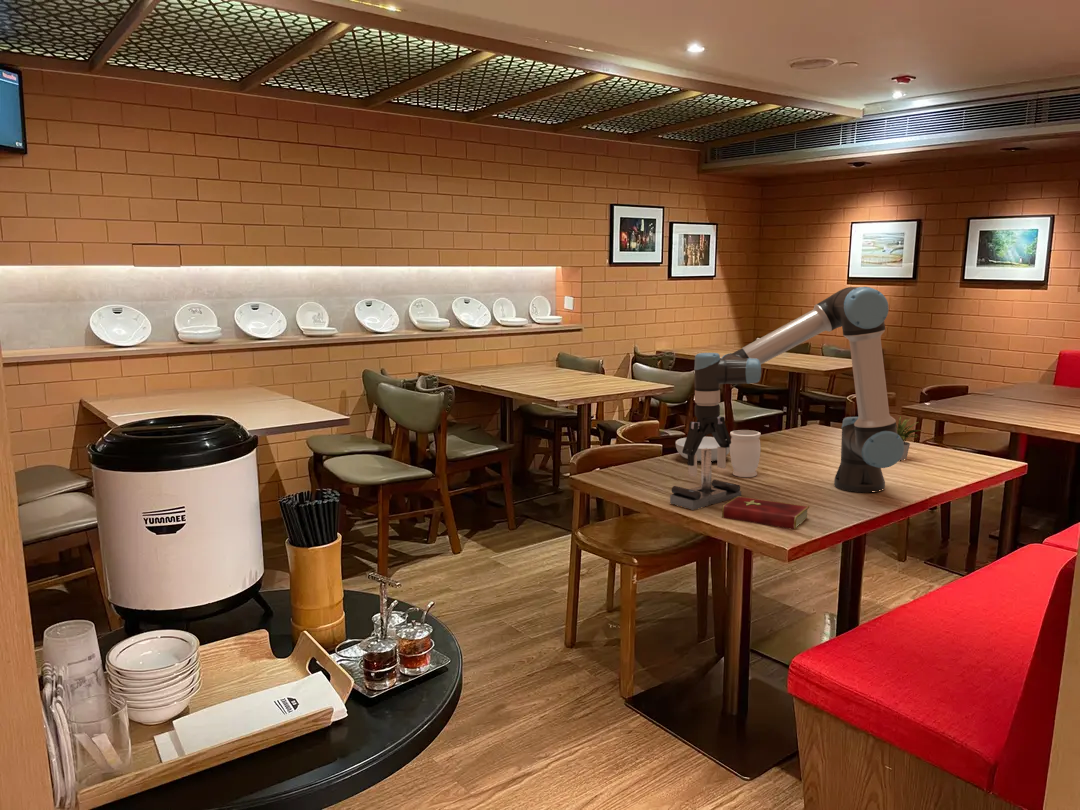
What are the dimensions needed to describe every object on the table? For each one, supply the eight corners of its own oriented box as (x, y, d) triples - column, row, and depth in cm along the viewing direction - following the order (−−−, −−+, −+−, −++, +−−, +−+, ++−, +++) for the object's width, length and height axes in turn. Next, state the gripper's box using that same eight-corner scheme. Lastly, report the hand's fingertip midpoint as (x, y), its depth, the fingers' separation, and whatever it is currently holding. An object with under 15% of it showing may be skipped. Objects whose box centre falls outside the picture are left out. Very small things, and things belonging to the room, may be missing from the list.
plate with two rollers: (741, 495, 240) (742, 479, 240) (693, 510, 226) (693, 493, 226) (717, 490, 248) (718, 473, 247) (669, 504, 234) (669, 486, 233)
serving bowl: (664, 459, 292) (664, 442, 291) (698, 451, 305) (698, 434, 304) (708, 468, 276) (708, 450, 275) (742, 459, 289) (742, 441, 288)
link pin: (713, 499, 237) (713, 449, 234) (707, 501, 235) (707, 451, 233) (705, 497, 239) (705, 448, 237) (699, 499, 237) (699, 449, 235)
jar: (761, 478, 260) (762, 435, 258) (730, 478, 262) (730, 435, 260) (758, 471, 270) (759, 429, 268) (728, 470, 273) (729, 429, 270)
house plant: (889, 465, 274) (891, 420, 272) (867, 456, 288) (869, 414, 285) (925, 463, 276) (928, 418, 273) (903, 454, 289) (905, 412, 287)
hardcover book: (795, 531, 207) (795, 516, 206) (722, 519, 219) (722, 504, 219) (808, 519, 217) (809, 505, 216) (737, 508, 229) (738, 495, 228)
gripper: (723, 397, 243) (723, 462, 246) (670, 407, 228) (670, 476, 231) (742, 399, 237) (742, 466, 240) (689, 410, 222) (690, 481, 225)
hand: (707, 471), depth 236 cm, fingers open, 13 cm apart
